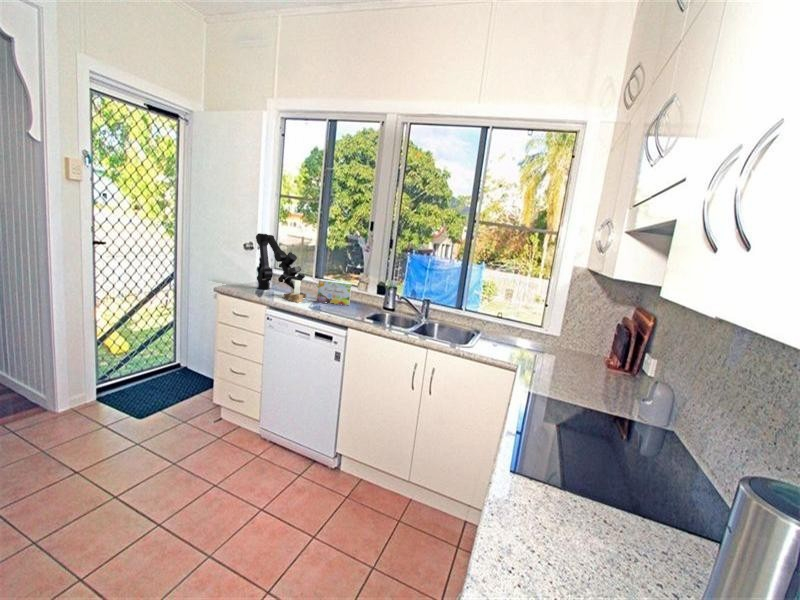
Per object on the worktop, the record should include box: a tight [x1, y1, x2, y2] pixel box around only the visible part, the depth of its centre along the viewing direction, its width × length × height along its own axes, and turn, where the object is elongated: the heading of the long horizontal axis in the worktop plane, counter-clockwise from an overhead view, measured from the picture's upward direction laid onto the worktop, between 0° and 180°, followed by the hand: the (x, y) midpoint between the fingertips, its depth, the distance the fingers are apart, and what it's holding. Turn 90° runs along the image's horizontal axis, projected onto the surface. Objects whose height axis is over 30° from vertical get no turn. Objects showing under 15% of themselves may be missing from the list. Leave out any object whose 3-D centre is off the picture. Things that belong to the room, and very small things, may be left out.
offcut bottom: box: [288, 297, 304, 304], centre depth 244 cm, size 8×5×2 cm, turn 56°
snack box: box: [316, 278, 353, 306], centre depth 251 cm, size 21×6×15 cm, turn 92°
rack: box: [283, 291, 307, 300], centre depth 253 cm, size 6×14×3 cm, turn 147°
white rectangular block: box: [290, 279, 302, 294], centre depth 252 cm, size 3×5×12 cm, turn 147°
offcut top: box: [290, 293, 304, 300], centre depth 243 cm, size 7×4×2 cm, turn 66°
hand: (297, 288), depth 251 cm, fingers closed on white rectangular block, 5 cm apart
